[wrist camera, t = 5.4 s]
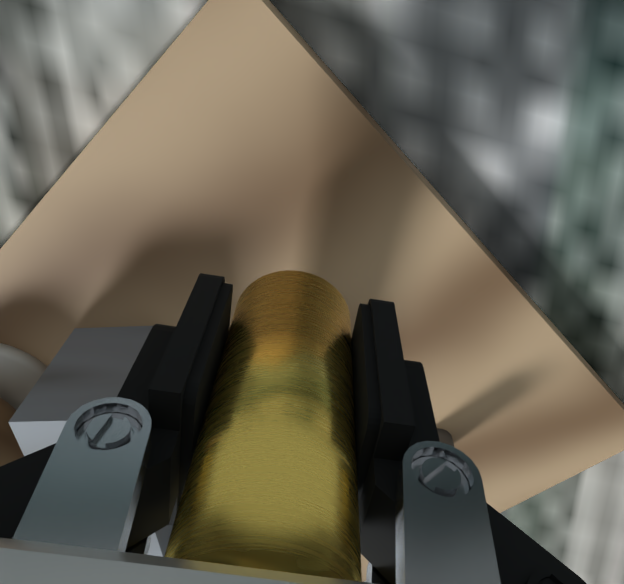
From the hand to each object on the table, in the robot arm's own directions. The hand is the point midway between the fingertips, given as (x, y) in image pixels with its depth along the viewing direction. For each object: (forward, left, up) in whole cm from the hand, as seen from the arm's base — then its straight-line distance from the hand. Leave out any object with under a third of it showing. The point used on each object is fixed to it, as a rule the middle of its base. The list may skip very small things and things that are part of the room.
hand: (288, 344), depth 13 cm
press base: (-4, +6, -6) cm, 9 cm away
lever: (-4, +5, -3) cm, 7 cm away
